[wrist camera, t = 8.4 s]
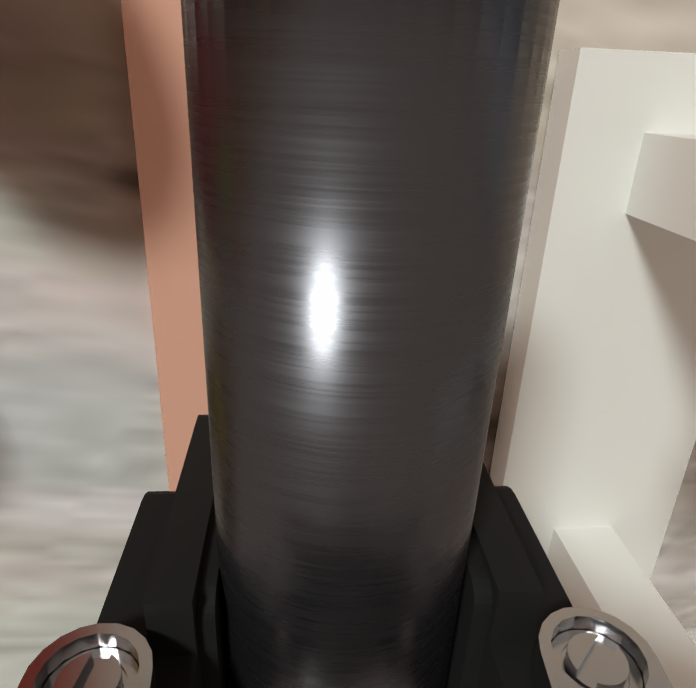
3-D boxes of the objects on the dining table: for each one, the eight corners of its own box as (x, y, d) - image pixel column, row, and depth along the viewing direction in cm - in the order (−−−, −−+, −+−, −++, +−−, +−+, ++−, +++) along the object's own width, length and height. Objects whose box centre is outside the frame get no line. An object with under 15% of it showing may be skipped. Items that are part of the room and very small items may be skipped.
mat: (431, 588, 22) (435, 601, 21) (184, 596, 21) (181, 610, 20) (514, -48, 14) (523, -54, 13) (120, -74, 13) (112, -81, 12)
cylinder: (390, 823, 13) (416, 1028, 10) (249, 832, 12) (235, 1046, 10) (503, -74, 6) (675, -196, 3) (202, -95, 6) (117, -245, 3)
